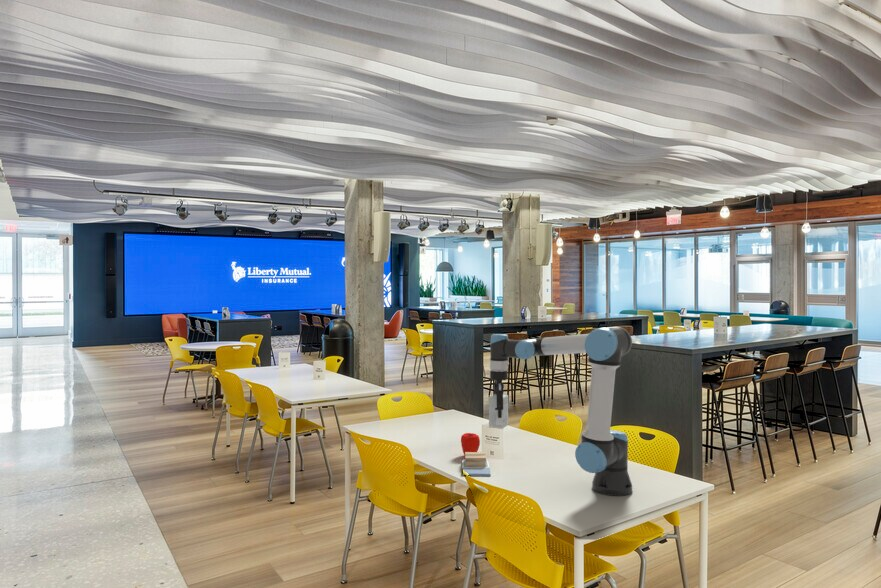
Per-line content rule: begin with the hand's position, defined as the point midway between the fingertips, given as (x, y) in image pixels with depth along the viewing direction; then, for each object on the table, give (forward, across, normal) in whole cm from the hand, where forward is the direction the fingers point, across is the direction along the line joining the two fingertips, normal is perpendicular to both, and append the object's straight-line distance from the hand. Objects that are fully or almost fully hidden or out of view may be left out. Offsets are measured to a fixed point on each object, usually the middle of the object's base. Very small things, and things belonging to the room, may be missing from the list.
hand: (498, 422), depth 250 cm
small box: (+2, 0, 0) cm, 2 cm away
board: (+22, +6, +10) cm, 25 cm away
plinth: (+21, +10, +10) cm, 25 cm away
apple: (+22, +26, +11) cm, 37 cm away
